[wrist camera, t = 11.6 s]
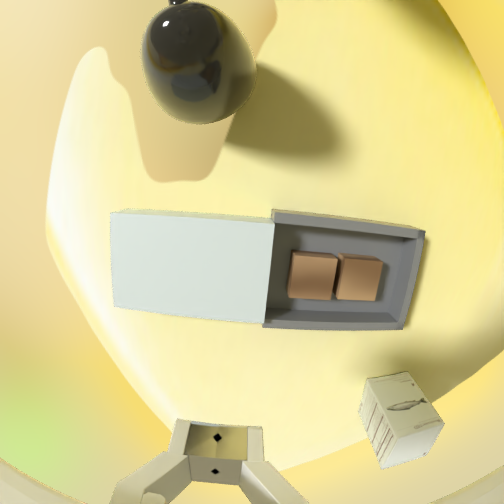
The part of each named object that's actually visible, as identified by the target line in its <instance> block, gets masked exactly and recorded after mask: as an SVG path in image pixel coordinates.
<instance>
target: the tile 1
mask: <svg viewBox="0 0 504 504" xmlns="http://www.w3.org/2000/svg"><path fill="white" fill-rule="evenodd" d="M337 261H338V259H337V258H336V257H335V256H334V255H333V254H331V253H323V252H312V251H301V250H291V255H290V263H289V271H288V278H287V285H286V291H287V293H288V296H289V298H302V299H319V300H331V294H332V289H333V284H334V278H335V273H336V267H337Z"/></svg>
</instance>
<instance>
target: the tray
mask: <svg viewBox="0 0 504 504" xmlns="http://www.w3.org/2000/svg"><path fill="white" fill-rule="evenodd" d="M271 219H272V221H273V222H274V224H275V227H274V237H273V246H272V256H271V265H270V275H269V284H268V293H267V301H266V310H265V319H264V323H262V327H263V328H281V329H304V330H403V327H404V323H405V320H406V316H407V313H408V309H409V306H410V302H411V298H412V294H413V290H414V286H415V282H416V278H417V273H418V269H419V264H420V259H421V254H422V248H423V243H424V237H425V230H422V229H418V228H415V227H412V226H408V225H401V224H394V223H387V222H380V221H373V220H366V219H358V218H350V217H342V216H334V215H325V214H316V213H307V212H298V211H288V210H278V209H272V214H271ZM291 250H301V251H312V252H323V253H331V254H333V255H334V256H335V257H336V258H338V253H348V254H358V255H368V256H375V257H376V258H378V259H380V260H381V261H383V265H382V270H381V275H380V279H379V284H378V288H377V293H376V297H375V301H367V300H344V299H337V297H336V296H335V295H334V293H333V292H332V294H331V300H319V299H302V298H289V296H288V293H287V291H286V285H287V278H288V271H289V263H290V255H291Z"/></svg>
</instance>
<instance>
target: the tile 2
mask: <svg viewBox="0 0 504 504" xmlns="http://www.w3.org/2000/svg"><path fill="white" fill-rule="evenodd" d="M337 259H338V261H337V267H336V273H335V278H334V284H333V289H332V292H333V293H334V295H335V296H336V297H337V299H344V300H367V301H375V297H376V293H377V288H378V284H379V279H380V275H381V270H382V265H383V261H381V260H380V259H378V258H376V257H375V256H368V255H358V254H348V253H338V258H337Z"/></svg>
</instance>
